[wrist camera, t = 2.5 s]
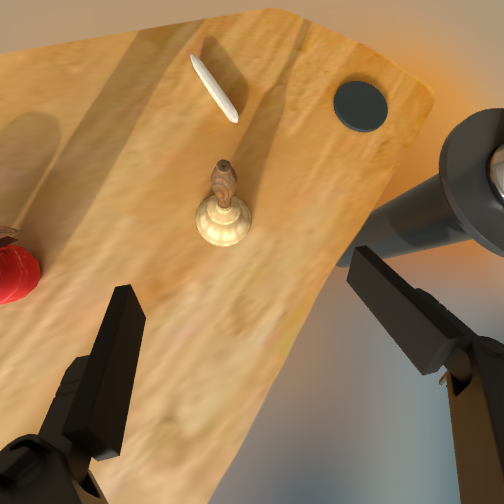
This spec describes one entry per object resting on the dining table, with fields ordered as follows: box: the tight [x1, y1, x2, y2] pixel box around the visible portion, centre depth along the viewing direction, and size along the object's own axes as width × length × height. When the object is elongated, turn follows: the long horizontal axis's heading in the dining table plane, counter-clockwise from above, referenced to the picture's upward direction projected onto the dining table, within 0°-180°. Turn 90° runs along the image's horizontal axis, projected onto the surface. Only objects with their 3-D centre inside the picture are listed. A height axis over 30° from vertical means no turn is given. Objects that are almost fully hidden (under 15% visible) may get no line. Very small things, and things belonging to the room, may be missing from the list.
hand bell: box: [196, 160, 251, 246], centre depth 28 cm, size 8×8×16 cm
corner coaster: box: [334, 81, 388, 132], centre depth 43 cm, size 10×10×1 cm
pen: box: [190, 54, 238, 123], centre depth 39 cm, size 2×14×2 cm, turn 34°
